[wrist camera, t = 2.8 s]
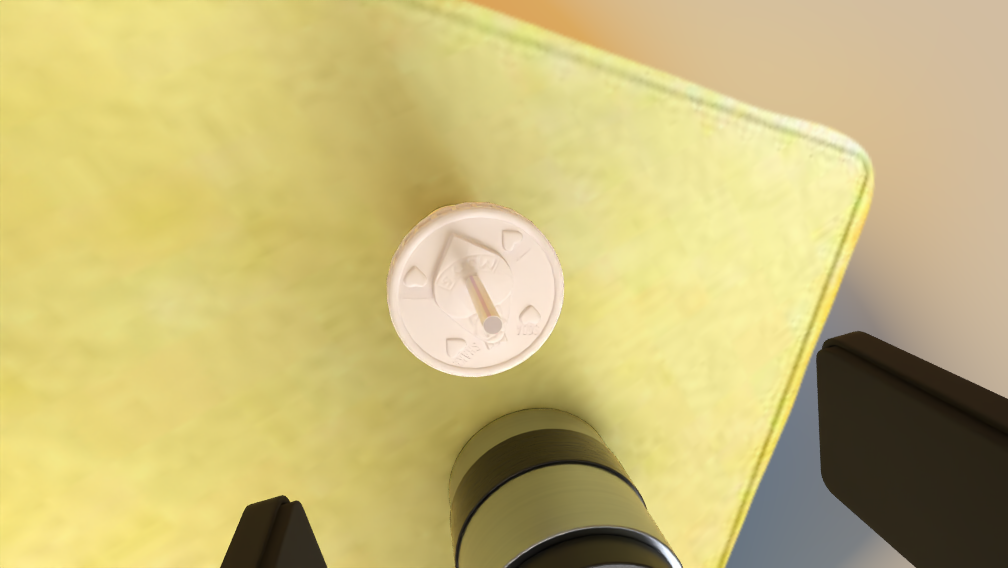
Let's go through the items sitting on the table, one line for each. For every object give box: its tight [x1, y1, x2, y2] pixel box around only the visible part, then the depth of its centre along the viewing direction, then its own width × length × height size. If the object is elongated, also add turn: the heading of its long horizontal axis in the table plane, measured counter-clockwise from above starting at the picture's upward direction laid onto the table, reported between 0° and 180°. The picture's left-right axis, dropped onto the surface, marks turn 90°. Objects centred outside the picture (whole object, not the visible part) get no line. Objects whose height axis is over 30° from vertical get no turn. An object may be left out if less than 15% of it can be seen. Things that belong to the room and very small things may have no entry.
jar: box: [449, 408, 683, 568], centre depth 28 cm, size 10×10×12 cm
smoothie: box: [387, 202, 564, 377], centre depth 22 cm, size 6×6×14 cm
